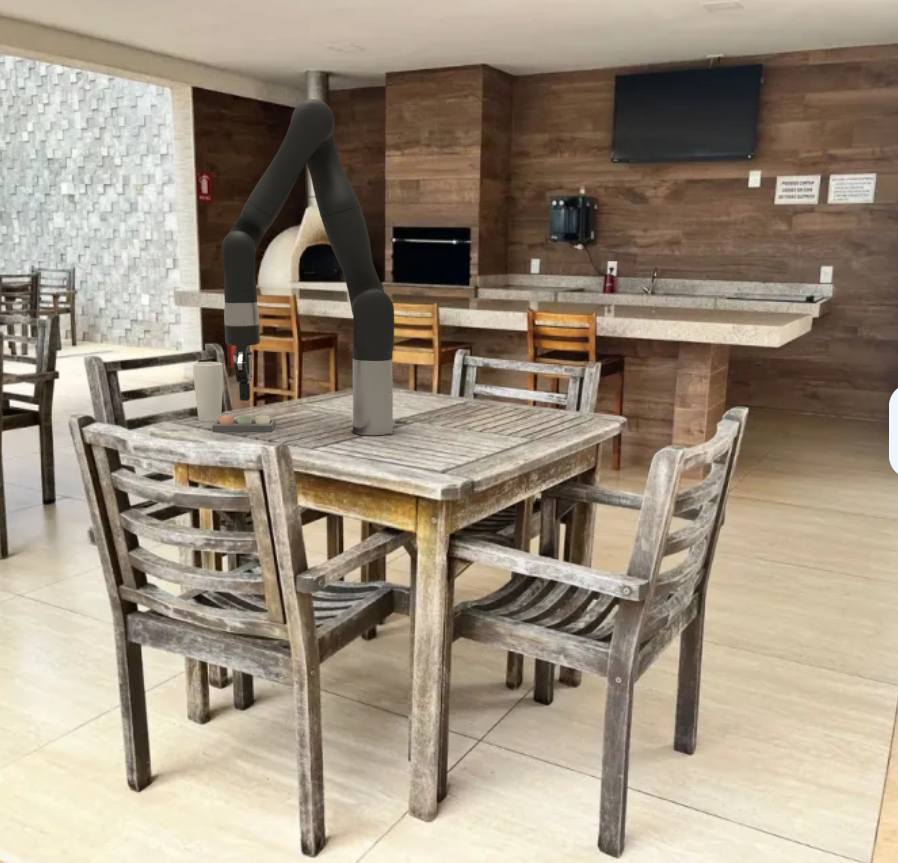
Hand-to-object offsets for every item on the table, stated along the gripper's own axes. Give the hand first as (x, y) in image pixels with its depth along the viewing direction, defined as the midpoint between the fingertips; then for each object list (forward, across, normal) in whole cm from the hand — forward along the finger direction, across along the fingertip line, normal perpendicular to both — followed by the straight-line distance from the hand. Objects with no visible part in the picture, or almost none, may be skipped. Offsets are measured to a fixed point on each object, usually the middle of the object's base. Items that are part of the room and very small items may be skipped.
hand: (245, 399), depth 202 cm
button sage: (+8, 0, 0) cm, 8 cm away
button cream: (+8, 0, -4) cm, 9 cm away
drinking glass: (+8, +12, +10) cm, 18 cm away
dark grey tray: (+8, 0, 0) cm, 8 cm away
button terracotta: (+8, 0, +4) cm, 9 cm away
